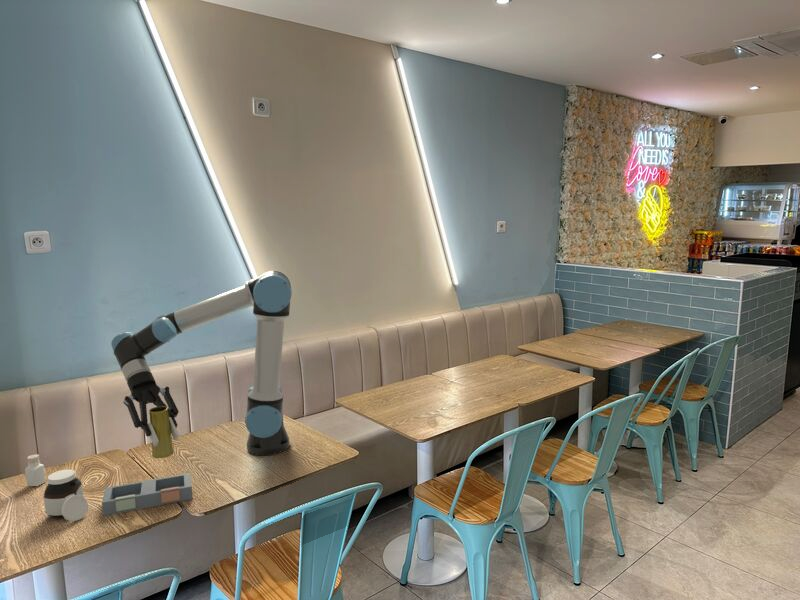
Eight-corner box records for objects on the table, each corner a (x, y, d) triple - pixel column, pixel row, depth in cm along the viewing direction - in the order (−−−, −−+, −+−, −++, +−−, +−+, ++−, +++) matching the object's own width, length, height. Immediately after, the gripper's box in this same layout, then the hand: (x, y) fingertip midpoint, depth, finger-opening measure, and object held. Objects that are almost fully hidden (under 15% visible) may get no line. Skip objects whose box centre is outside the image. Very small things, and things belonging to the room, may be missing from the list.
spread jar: (63, 504, 173) (58, 467, 171) (100, 503, 173) (96, 466, 171) (37, 525, 161) (32, 486, 160) (77, 525, 161) (72, 485, 159)
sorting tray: (191, 484, 183) (190, 471, 183) (192, 499, 174) (191, 486, 173) (106, 500, 175) (105, 486, 174) (103, 516, 165) (101, 502, 164)
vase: (148, 454, 176) (144, 409, 173) (168, 448, 180) (164, 404, 178) (157, 460, 171) (152, 414, 169) (177, 453, 176) (173, 408, 174)
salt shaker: (37, 487, 184) (33, 459, 183) (26, 487, 185) (22, 458, 183) (47, 482, 188) (43, 454, 186) (36, 481, 189) (32, 453, 187)
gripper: (165, 377, 190) (193, 437, 181) (105, 390, 177) (132, 456, 168) (170, 364, 185) (199, 425, 176) (110, 377, 172) (137, 444, 164)
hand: (166, 440), depth 172 cm, fingers closed on vase, 5 cm apart
